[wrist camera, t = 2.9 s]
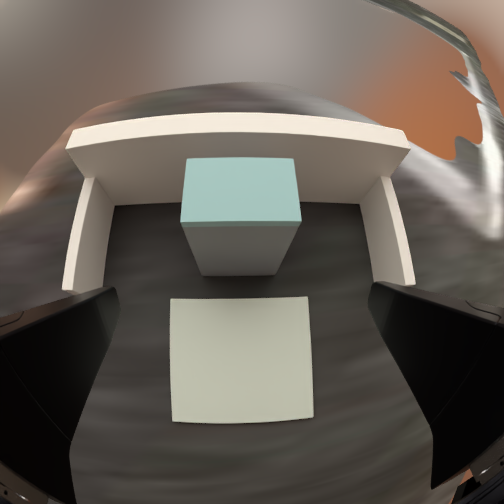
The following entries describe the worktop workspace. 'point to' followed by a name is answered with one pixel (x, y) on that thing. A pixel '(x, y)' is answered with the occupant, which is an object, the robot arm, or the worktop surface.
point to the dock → (236, 145)
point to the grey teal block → (240, 213)
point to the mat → (240, 360)
